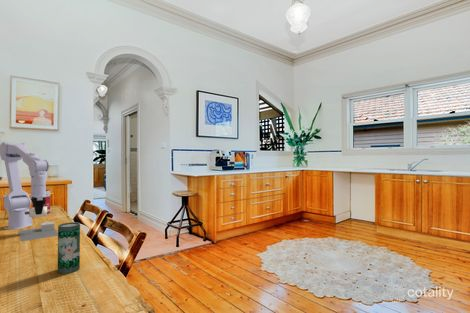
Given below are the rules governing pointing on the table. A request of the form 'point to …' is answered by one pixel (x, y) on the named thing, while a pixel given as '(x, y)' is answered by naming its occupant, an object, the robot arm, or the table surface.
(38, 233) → the mat
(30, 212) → the plug
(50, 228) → the block
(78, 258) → the can
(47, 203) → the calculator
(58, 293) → the table surface
